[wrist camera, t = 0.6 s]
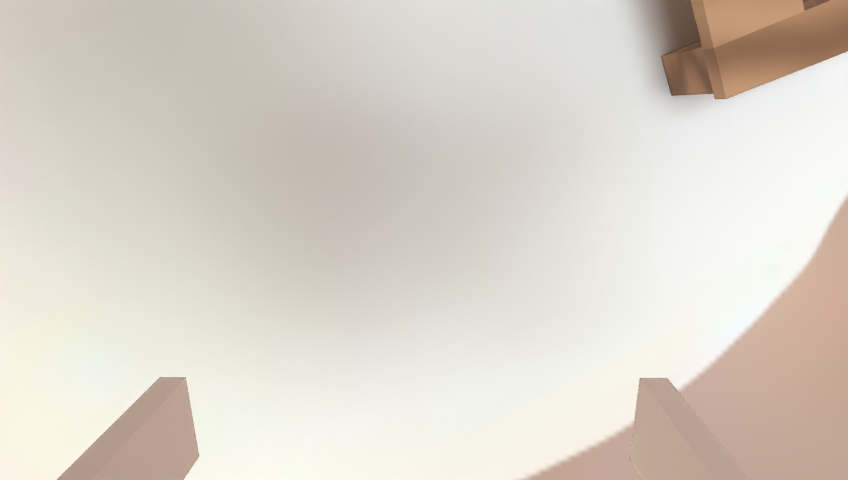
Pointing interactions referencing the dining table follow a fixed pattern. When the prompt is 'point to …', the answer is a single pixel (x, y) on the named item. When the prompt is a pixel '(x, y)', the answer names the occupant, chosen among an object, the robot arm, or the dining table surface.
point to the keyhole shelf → (755, 43)
